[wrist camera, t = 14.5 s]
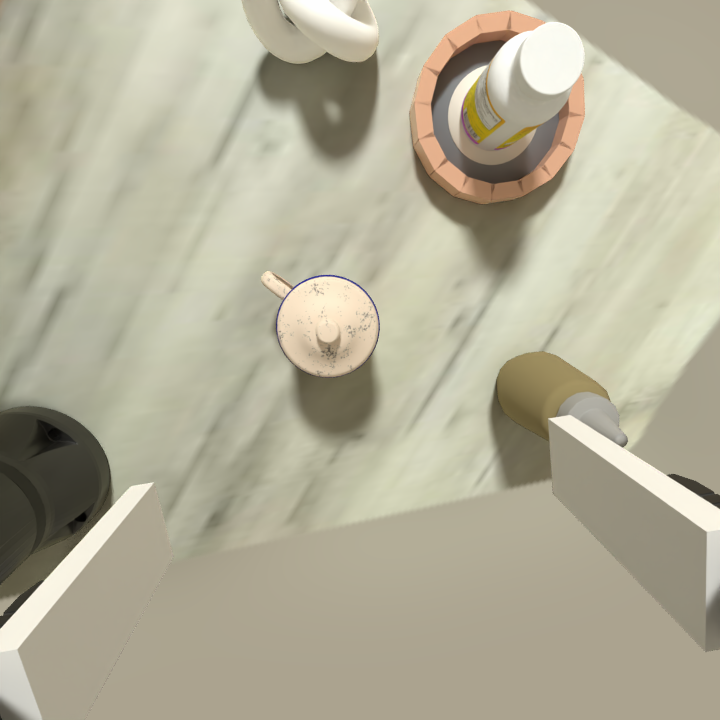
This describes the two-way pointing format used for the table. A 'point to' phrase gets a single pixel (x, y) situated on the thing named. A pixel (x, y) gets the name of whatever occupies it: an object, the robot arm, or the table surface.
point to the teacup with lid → (324, 323)
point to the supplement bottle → (522, 86)
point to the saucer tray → (444, 130)
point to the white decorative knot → (314, 28)
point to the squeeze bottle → (555, 396)
